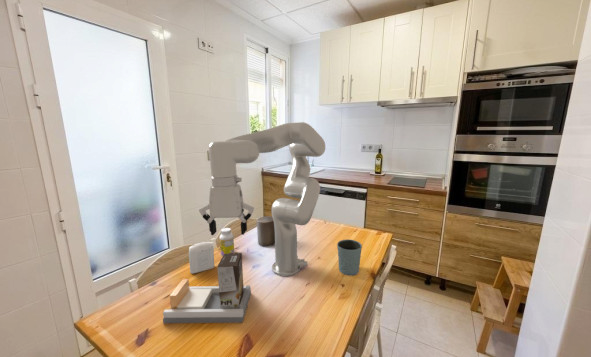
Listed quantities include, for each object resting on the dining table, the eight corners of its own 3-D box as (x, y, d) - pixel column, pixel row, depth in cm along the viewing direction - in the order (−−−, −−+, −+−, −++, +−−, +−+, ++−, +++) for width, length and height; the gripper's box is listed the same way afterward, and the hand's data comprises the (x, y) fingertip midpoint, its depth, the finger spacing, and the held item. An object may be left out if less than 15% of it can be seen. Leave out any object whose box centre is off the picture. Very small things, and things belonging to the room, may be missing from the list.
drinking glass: (362, 267, 106) (363, 241, 104) (358, 279, 97) (359, 251, 95) (340, 262, 110) (340, 237, 108) (334, 273, 101) (334, 247, 99)
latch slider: (212, 293, 86) (210, 278, 85) (202, 312, 77) (200, 295, 76) (184, 294, 86) (182, 279, 85) (171, 312, 77) (169, 295, 76)
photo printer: (213, 263, 110) (211, 238, 108) (216, 267, 107) (214, 241, 104) (189, 270, 105) (186, 244, 102) (191, 275, 101) (188, 248, 99)
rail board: (251, 293, 89) (250, 282, 88) (242, 322, 75) (241, 309, 74) (183, 294, 89) (182, 283, 88) (163, 323, 75) (161, 310, 74)
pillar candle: (279, 241, 132) (278, 215, 130) (267, 248, 124) (266, 220, 122) (265, 238, 138) (264, 213, 135) (253, 244, 130) (252, 217, 127)
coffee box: (240, 311, 77) (237, 266, 75) (220, 313, 77) (216, 267, 74) (244, 293, 86) (242, 252, 84) (226, 294, 86) (223, 253, 83)
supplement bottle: (220, 252, 121) (218, 228, 119) (233, 249, 124) (231, 226, 121) (221, 258, 115) (219, 233, 113) (235, 255, 118) (233, 230, 115)
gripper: (254, 178, 78) (257, 228, 81) (201, 179, 78) (206, 229, 81) (250, 183, 71) (253, 237, 74) (191, 184, 71) (197, 238, 74)
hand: (228, 233), depth 78 cm, fingers open, 9 cm apart
